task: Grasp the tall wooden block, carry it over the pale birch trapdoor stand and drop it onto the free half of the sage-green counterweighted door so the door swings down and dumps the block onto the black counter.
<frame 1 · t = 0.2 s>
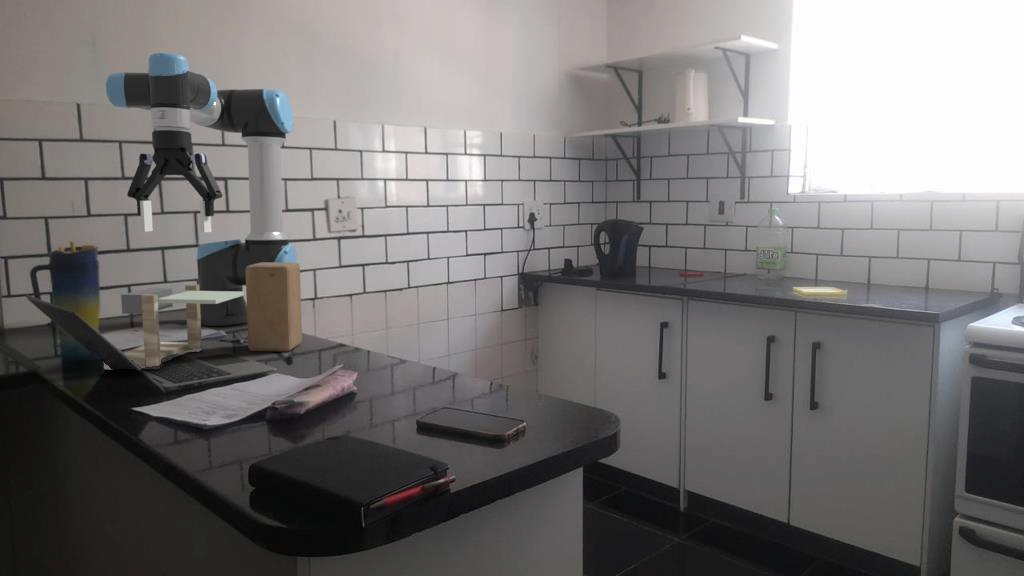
hand: (176, 231, 156), 28 cm above the worktop, fingers open, 13 cm apart
wooden block: (275, 348, 173), on the worktop
trapdoor: (183, 301, 157), point 13 cm above the worktop, hinge at 0.0°
trapdoor frame: (175, 360, 159), on the worktop
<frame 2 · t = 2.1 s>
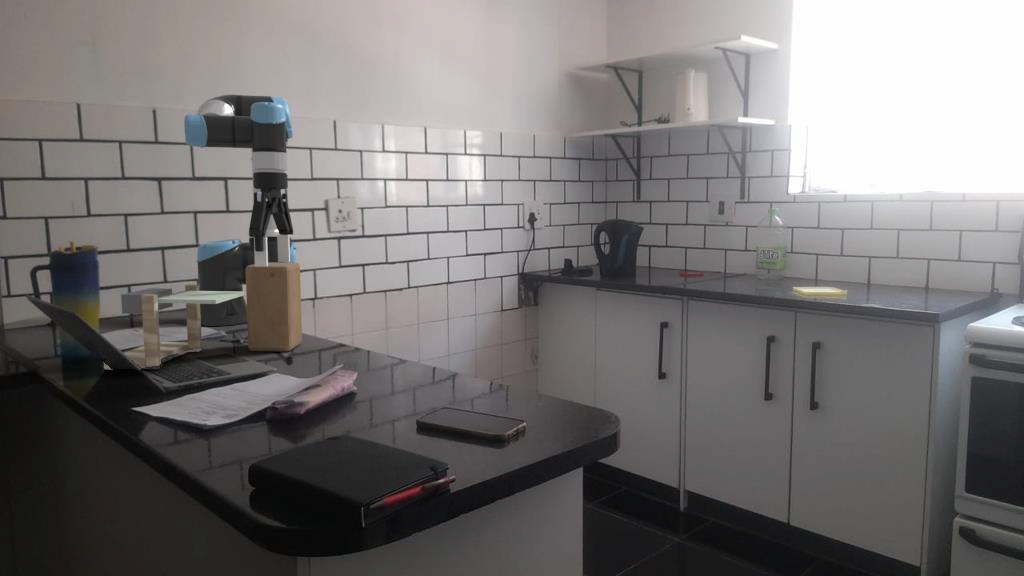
hand: (273, 264, 170), 20 cm above the worktop, fingers open, 13 cm apart
nothing on the worktop moved.
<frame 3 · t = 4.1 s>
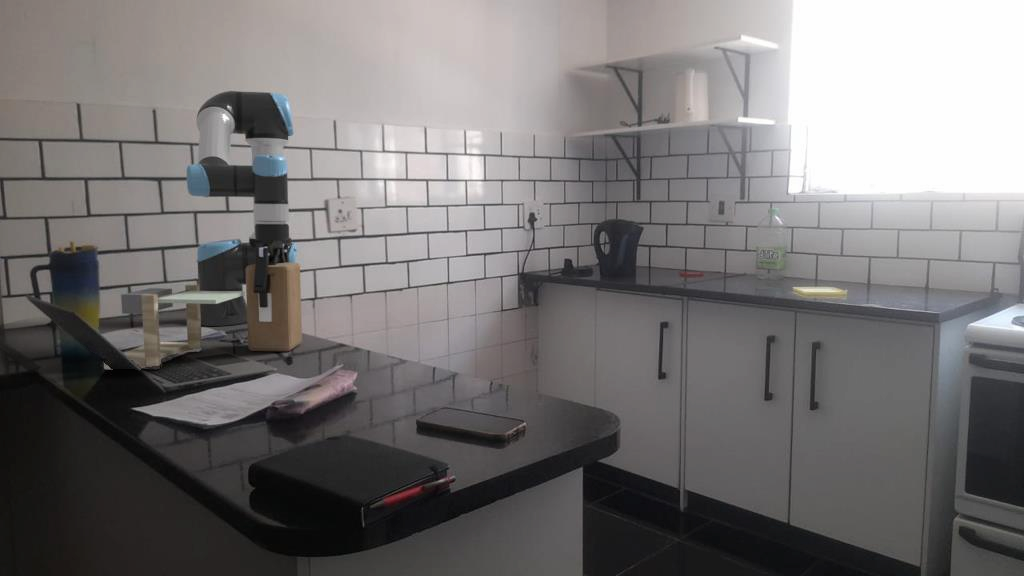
hand: (274, 317, 172), 7 cm above the worktop, fingers closed on wooden block, 10 cm apart
wooden block: (275, 348, 173), on the worktop, touching gripper
everything else where it was.
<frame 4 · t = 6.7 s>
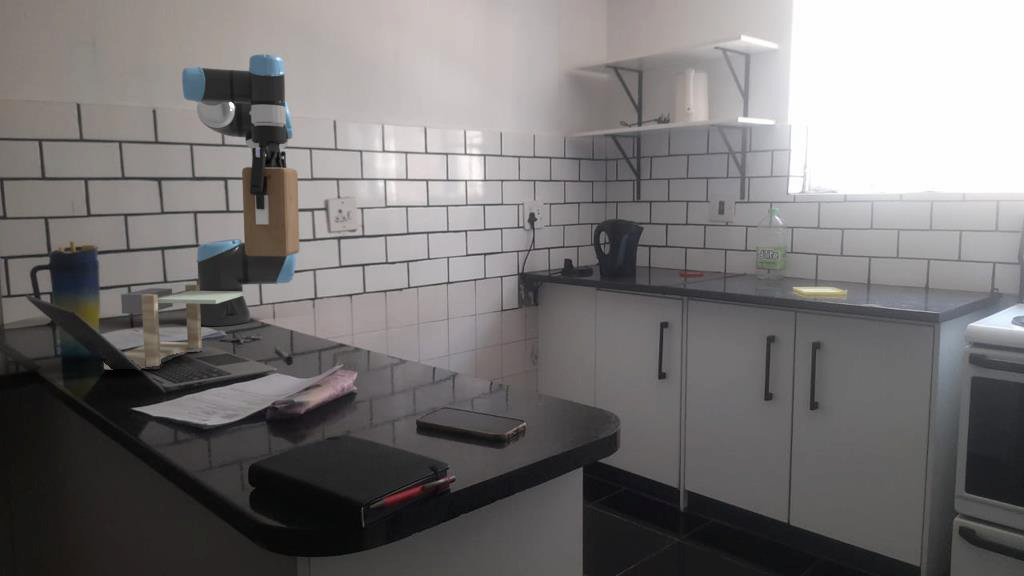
hand: (271, 223, 169), 29 cm above the worktop, fingers closed on wooden block, 10 cm apart
wooden block: (272, 255, 170), point 22 cm above the worktop, touching gripper
everything else where it was.
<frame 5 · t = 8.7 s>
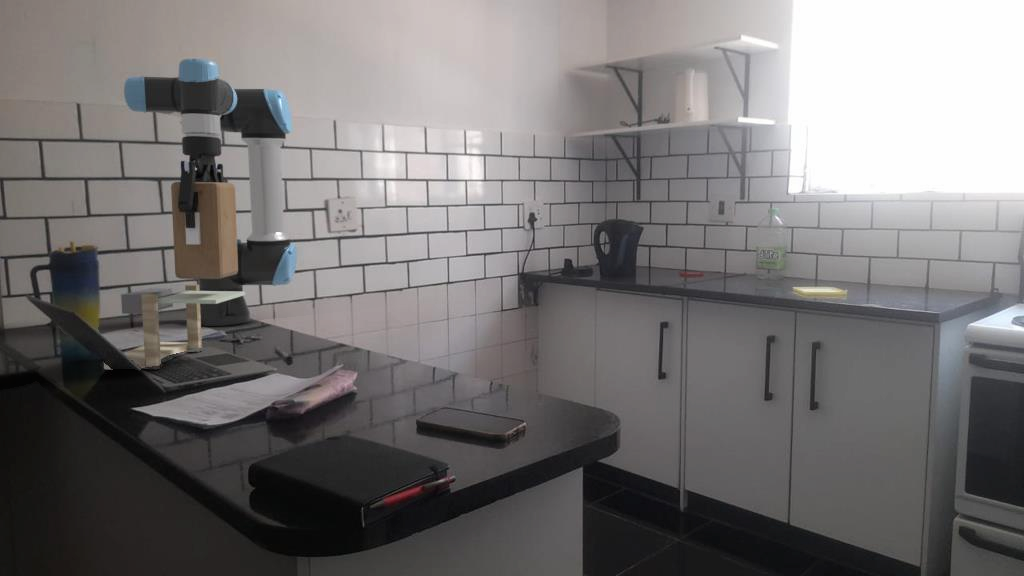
hand: (206, 242, 155), 26 cm above the worktop, fingers closed on wooden block, 10 cm apart
wooden block: (207, 277, 156), point 18 cm above the worktop, touching gripper
everything else where it was.
when the fingers open (26 cm above the worktop, at t = 9.5 s): wooden block drops 13 cm, point 5 cm above the worktop.
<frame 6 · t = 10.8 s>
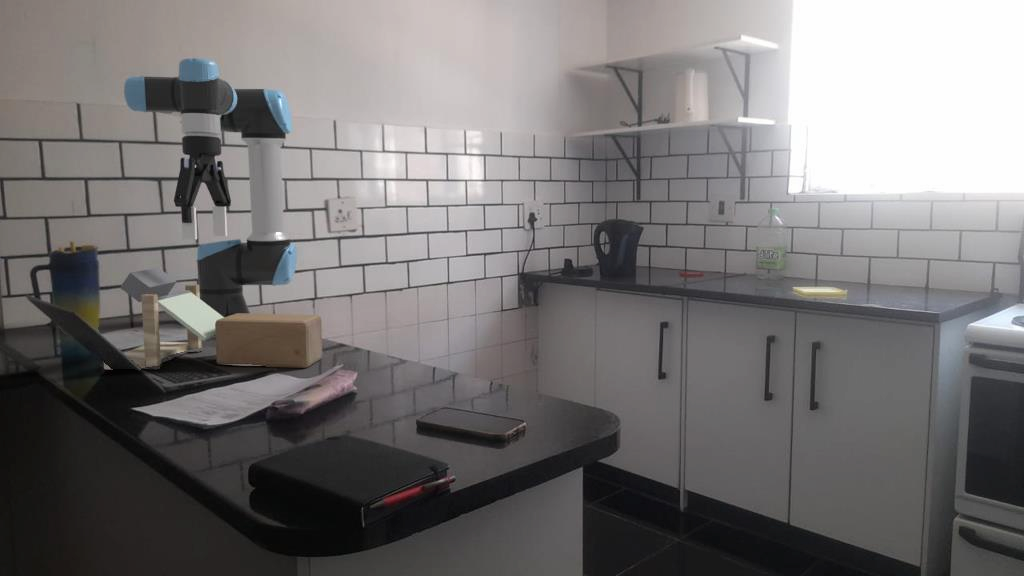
hand: (205, 237, 155), 27 cm above the worktop, fingers open, 13 cm apart
wooden block: (224, 338, 158), point 5 cm above the worktop
trapdoor: (179, 307, 157), point 12 cm above the worktop, hinge at -37.3°
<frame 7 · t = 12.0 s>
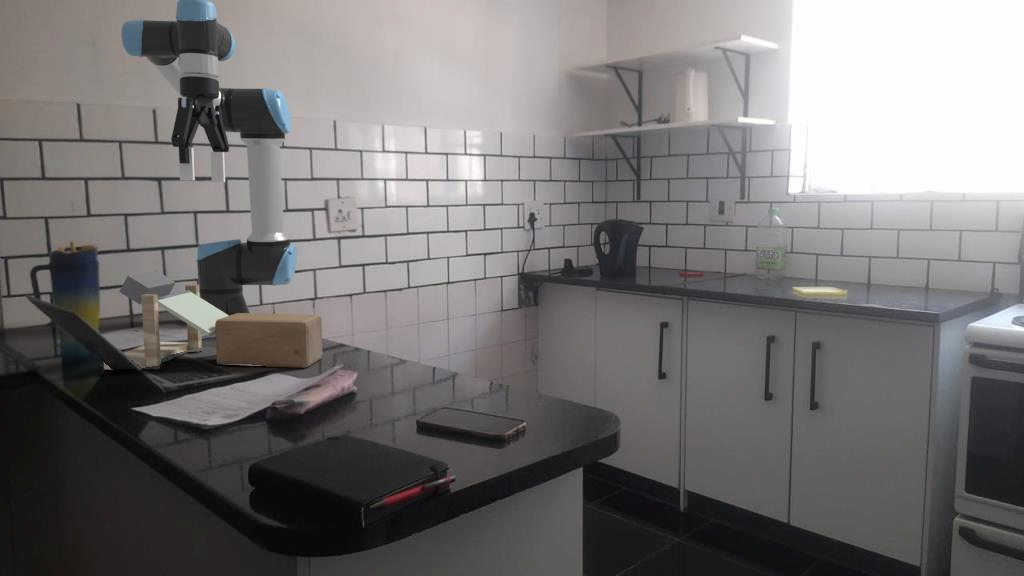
hand: (203, 181, 154), 39 cm above the worktop, fingers open, 13 cm apart
wooden block: (224, 338, 158), point 5 cm above the worktop, touching trapdoor
trapdoor: (180, 306, 157), point 12 cm above the worktop, hinge at -31.5°, touching wooden block
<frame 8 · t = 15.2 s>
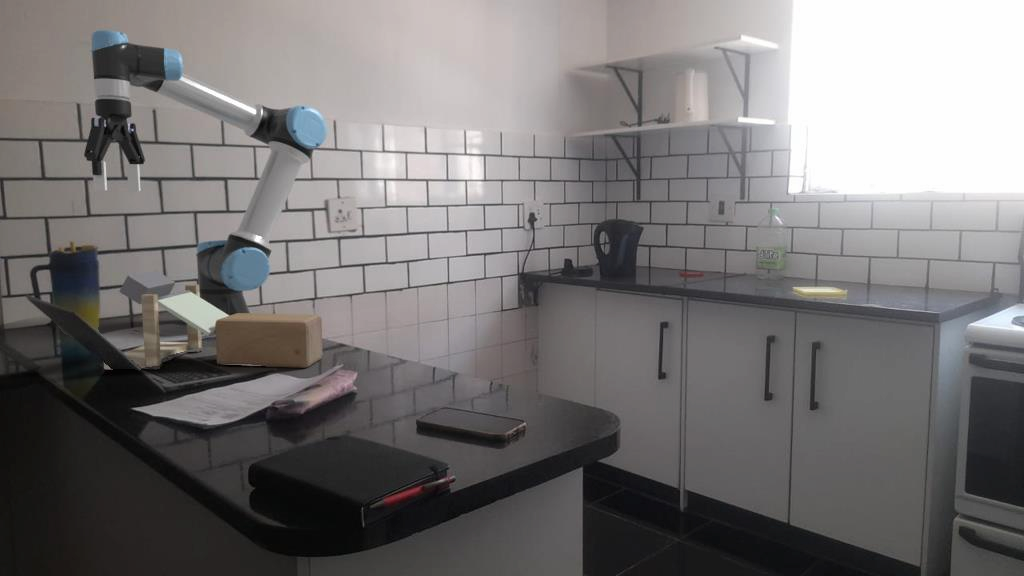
hand: (118, 190, 175), 37 cm above the worktop, fingers open, 13 cm apart
nothing on the worktop moved.
at the end: wooden block point 5.0 cm above the worktop; wooden block 11.2 cm from the trapdoor frame (horizontally); the gripper is holding nothing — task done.
